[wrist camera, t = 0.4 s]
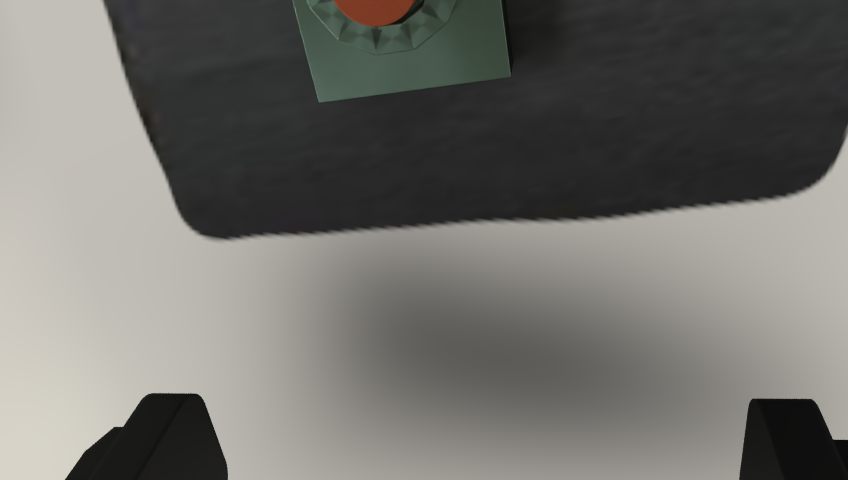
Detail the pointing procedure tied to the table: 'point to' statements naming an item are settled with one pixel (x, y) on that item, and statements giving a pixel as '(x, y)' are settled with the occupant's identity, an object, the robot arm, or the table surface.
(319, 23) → the button box
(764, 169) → the table surface
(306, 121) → the table surface
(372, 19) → the button
